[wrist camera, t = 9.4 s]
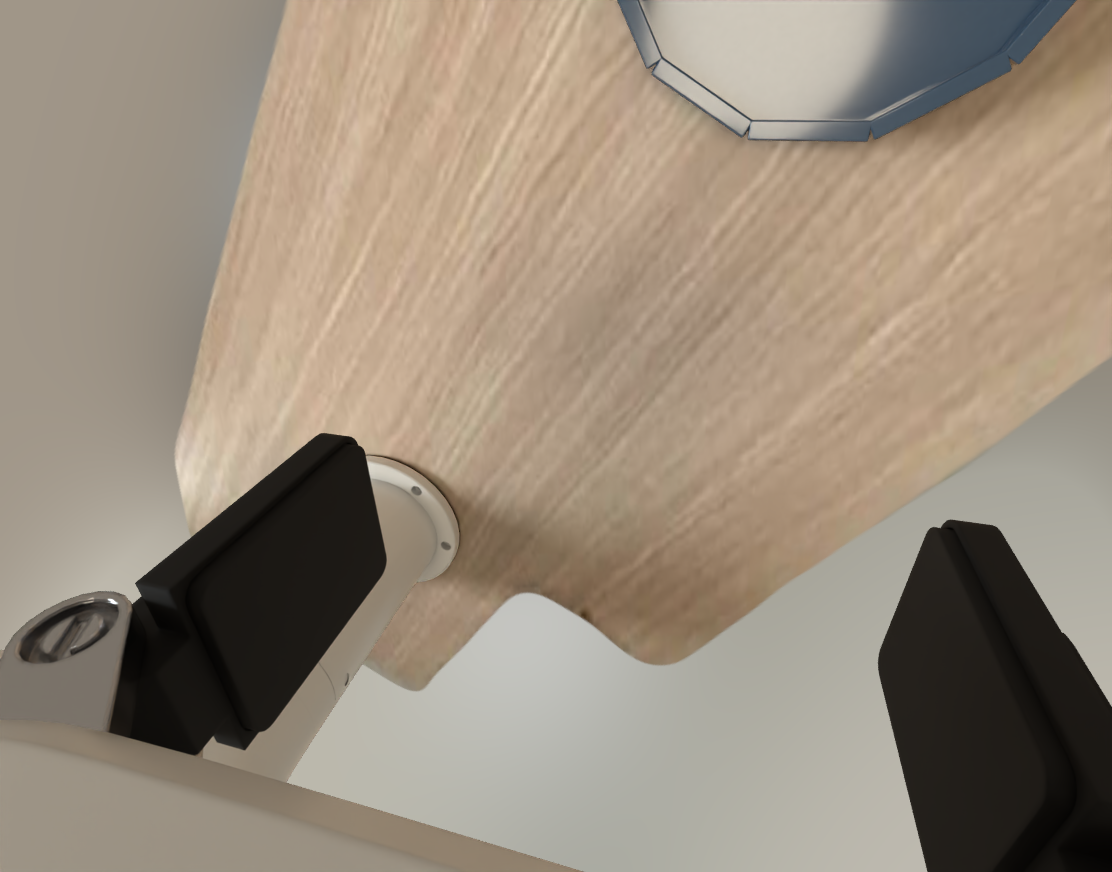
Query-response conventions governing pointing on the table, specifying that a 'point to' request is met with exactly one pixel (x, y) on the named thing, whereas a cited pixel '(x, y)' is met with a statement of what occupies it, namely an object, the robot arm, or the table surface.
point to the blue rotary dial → (832, 58)
